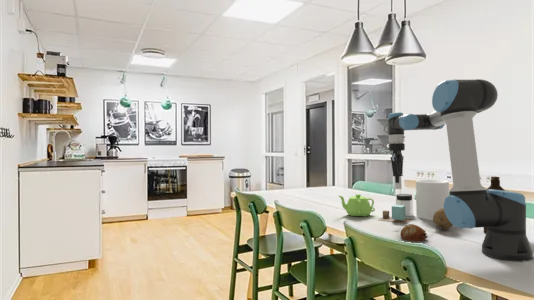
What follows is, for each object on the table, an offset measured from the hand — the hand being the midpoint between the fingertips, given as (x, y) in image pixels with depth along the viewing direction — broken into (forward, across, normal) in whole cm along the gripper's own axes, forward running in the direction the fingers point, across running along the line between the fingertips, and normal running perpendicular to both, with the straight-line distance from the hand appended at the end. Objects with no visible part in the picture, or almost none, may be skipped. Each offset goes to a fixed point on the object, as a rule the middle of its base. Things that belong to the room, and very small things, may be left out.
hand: (398, 189), depth 177 cm
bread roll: (+18, -25, -14) cm, 34 cm away
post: (+16, +1, +1) cm, 16 cm away
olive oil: (+18, +2, -41) cm, 45 cm away
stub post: (+16, +5, +9) cm, 19 cm away
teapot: (+17, +3, +25) cm, 30 cm away
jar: (+17, +17, +3) cm, 24 cm away
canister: (+18, +19, -11) cm, 28 cm away
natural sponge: (+18, -3, -21) cm, 28 cm away
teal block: (+15, +1, 0) cm, 15 cm away
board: (+17, +2, +3) cm, 18 cm away
